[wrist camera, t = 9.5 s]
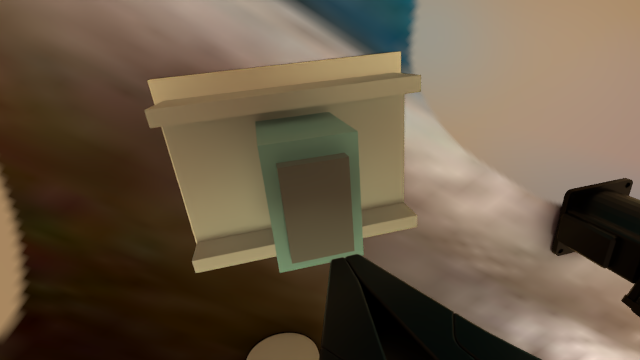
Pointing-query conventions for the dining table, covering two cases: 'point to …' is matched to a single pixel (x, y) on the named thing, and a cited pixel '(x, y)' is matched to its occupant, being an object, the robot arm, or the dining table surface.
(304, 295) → the dining table surface
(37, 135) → the dining table surface
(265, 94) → the mount board
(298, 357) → the mug
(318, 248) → the block
